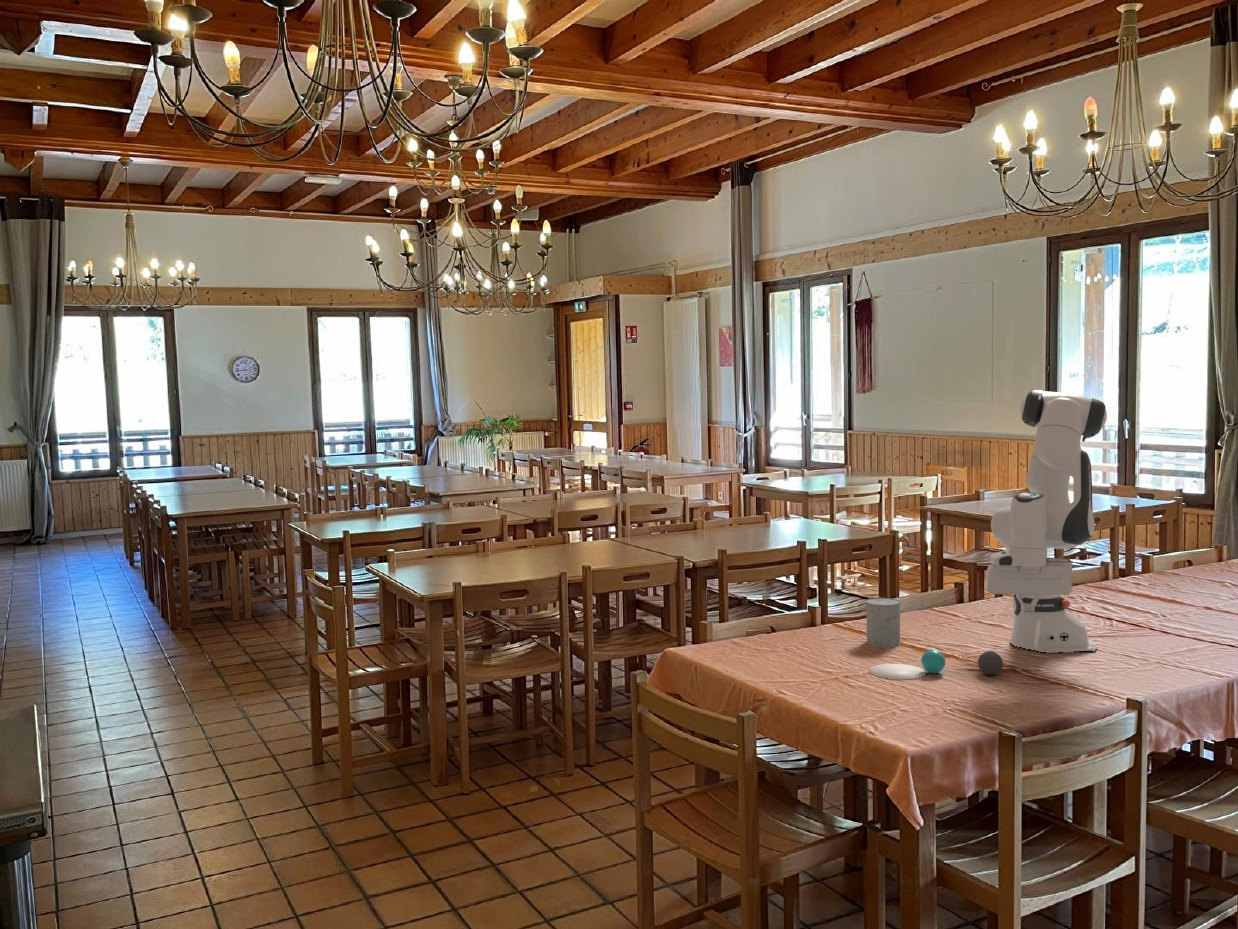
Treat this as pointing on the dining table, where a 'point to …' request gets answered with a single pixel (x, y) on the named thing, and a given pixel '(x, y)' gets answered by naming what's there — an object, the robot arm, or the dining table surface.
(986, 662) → the dark grey ball
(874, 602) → the grey speckled stone cylinder
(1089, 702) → the dining table surface
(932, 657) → the object ball
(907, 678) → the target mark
